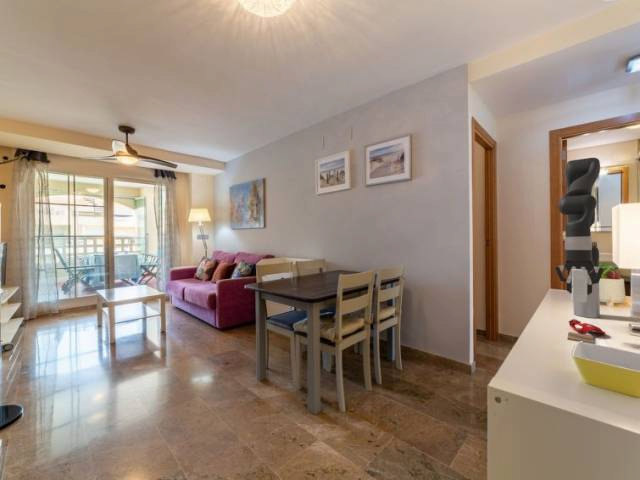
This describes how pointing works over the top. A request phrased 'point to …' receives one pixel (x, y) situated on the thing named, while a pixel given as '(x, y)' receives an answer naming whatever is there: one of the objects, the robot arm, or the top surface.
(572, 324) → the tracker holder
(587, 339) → the coaster
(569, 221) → the robot arm
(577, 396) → the top surface
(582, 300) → the skincare box
